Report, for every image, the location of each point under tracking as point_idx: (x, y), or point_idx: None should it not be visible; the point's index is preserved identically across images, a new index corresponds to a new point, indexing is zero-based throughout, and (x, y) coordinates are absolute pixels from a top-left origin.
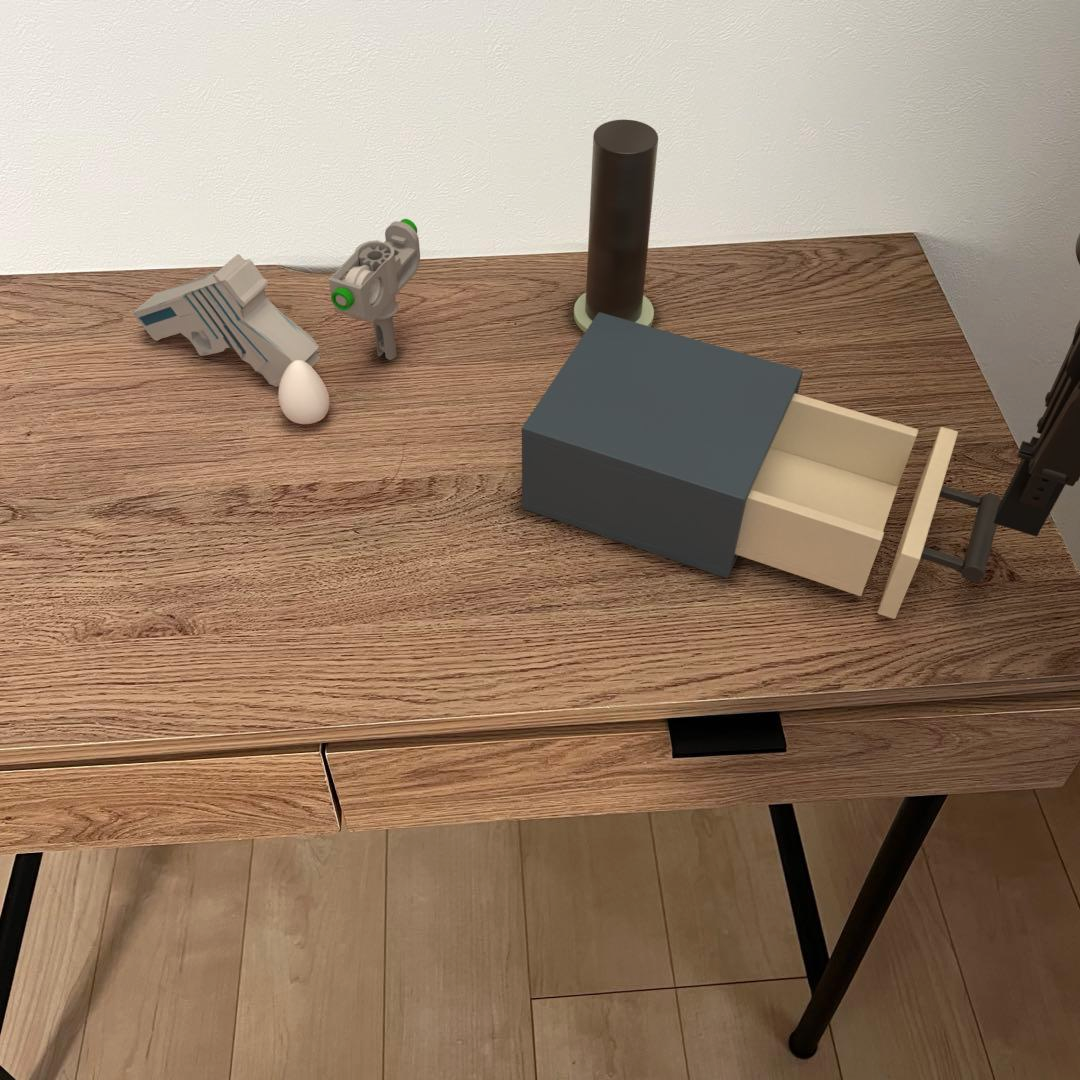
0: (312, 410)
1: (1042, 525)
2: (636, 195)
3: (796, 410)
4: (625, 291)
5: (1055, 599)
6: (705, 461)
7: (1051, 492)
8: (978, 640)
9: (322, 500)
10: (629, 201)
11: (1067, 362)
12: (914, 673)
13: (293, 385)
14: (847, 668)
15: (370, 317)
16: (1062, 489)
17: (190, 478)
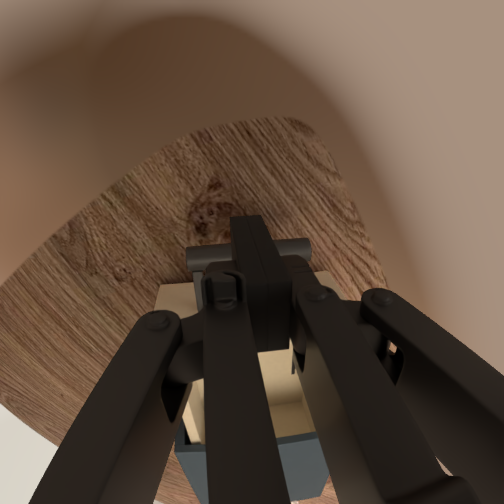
0: (294, 501)
1: (263, 222)
2: None
3: (199, 430)
4: None
5: (224, 139)
6: (315, 456)
7: (312, 274)
8: (309, 196)
9: (329, 476)
10: None
11: (166, 458)
12: (361, 235)
13: None
14: (370, 279)
15: None
16: (278, 253)
17: (331, 492)
